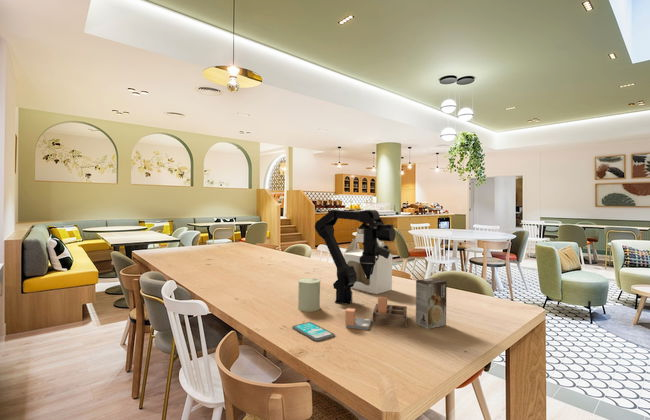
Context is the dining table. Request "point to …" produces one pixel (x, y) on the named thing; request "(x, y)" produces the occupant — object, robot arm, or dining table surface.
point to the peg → (382, 304)
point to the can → (309, 294)
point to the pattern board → (356, 320)
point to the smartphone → (313, 331)
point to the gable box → (381, 271)
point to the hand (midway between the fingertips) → (369, 276)
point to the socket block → (391, 316)
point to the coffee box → (431, 303)
